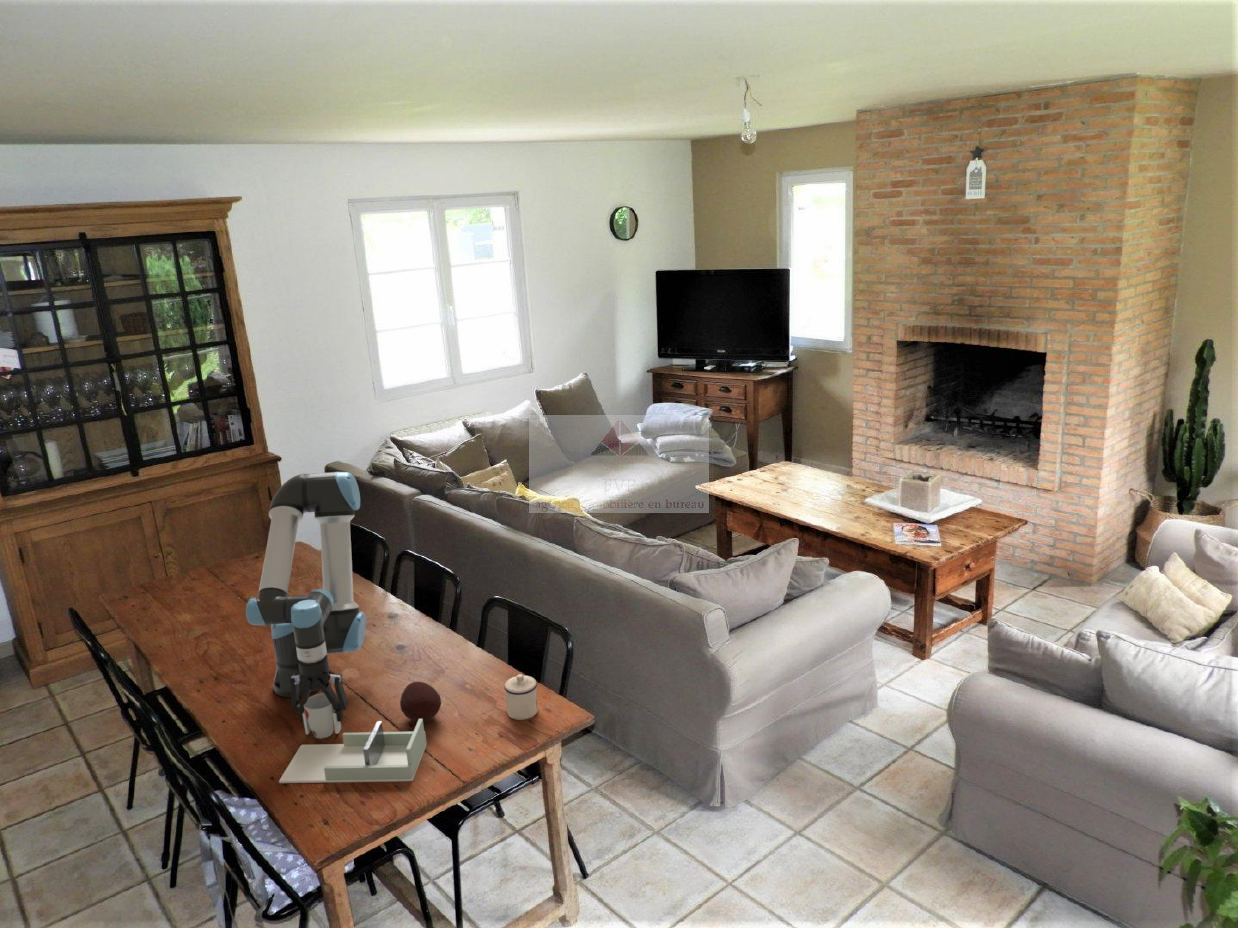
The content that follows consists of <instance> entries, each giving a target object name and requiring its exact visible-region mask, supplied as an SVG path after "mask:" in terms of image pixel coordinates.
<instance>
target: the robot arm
mask: <svg viewBox="0 0 1238 928" xmlns="http://www.w3.org/2000/svg"><path fill="white" fill-rule="evenodd" d="M357 482H358V481H357V479H356V477H355V475H353V474H352V473H351V472H349V471H348V472H347V471H332V472H320V473H319V472H318V473H301V474H298V475H294V476H293V477H291V478H289V479H287V480H286V481H285V482H284V483H283V484H282V486H280V487H279V489H278V490H277V491H276V493H275V494H274V495H273V498H272V500H271V502H270V505H269V509H268V517H269V519H270V526H269V530H268V537H267V544H266V548H265V554H264V560H263V565H262V571H261V575H260V582H259V588H258V594H257V597H252V598H249V599H248V600H247V603H246V605H245V616H246V617H245V618H246V620H247V622H248V623H249V624H250V625H251V626H269V625H270V630H271V635H270V636H271V639H272V645H273V650H274V651H273V652H274V657H275V662H276V668H275V669H276V670H275V675H274V678H273V690H274V692H275V694H276V695H278V696H280V697H283V698H289V699H290V701H291V702H290V707H291V708H290V709H291V711H292V712H298V715H299V720H300V723H303V725H304V733H305V735H309V734H310V732H312V731H311V729H310V726H309V723H308V721H307V718H306V713H305V708H304V704H306V702H307V700H308V698H309V697H310V695H312V694H313V693H316V692H317V691H319V690H320V691H321V692H322V694H325V695H326V697H327V698H328V700H329V702H330V703H331V704H332V707H333V708H334V712H333V719H334V731H335V734H336V735H337V734H339V733H340V731H341V730H342V723H341V722H342V720H343V719H344V714H343V711H345V710H346V709H347V707H348V705H349V701H348V698H347V694H346V691H345V688H344V684H343V683H342V679H343V674H341V673H337V674H333V673H331V671H330V665H329V658H328V654H346V653H353V652H354V653H355V652H357V651H359V650H360V649H361V648H362V646H363V643H364V639H365V634H366V629H367V619H366V614H365V612H363V611H360V606H359V604H357V603H356V602H355V600H354V585H353V584H354V583H353V582H354V581H353V560H352V559H353V558H352V557H353V556H352V540H351V537H352V536H351V535H352V534H351V521H352V520H353V519H354V518H355V515H356V511H358V510H359V509H360V507H361V494H360V489H359V488H360V487H359V484H358V483H357ZM306 513H314V519H315V521H317V522H318V523H319V524H320V525H319V527H320V528H319V529H320V546H321V547H320V550H321V551H320V552H321V571H322V588H315V589H313V590H311V591H310V592H309V593H308V594H301V595H299V594H297V595H288V591H289V584H290V577H291V571H292V565H293V559H294V553H295V545H296V542H297V541H296V540H297V534H298V527H299V523H301V522H302V521H303V520H304V519H303V518H304V514H306ZM330 680H331V682H332V684H334V689H333V687H332V684H331V682H330ZM334 690H335V691H334ZM300 697H301V700H300Z"/></svg>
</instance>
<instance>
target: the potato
mask: <svg viewBox="0 0 1238 928" xmlns="http://www.w3.org/2000/svg"><path fill="white" fill-rule="evenodd" d="M400 696H401V697H400V701H399V702H400V703H399V705H400V710H401V712H402V713H403V715H404V716H405V717H406V718H407V719H409V720H411V721H413V722H415V723H417V722H418V720H419V719H423V724H425V723H428V722H430V721H431V720H433V719H434V718H435V717H436V715H437V714H438V713H439V711H440V710H441V709H440V708H441V705H442V700H441V696H440V693H438V692H437V690H436V689H435V688H434V687H433V686H432V685H430V684H428V683H426V682H424V681H413V682H410V683H409V684H408V685H407V686H405V688H404V690H403V692H402V694H401V695H400Z"/></svg>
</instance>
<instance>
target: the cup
mask: <svg viewBox="0 0 1238 928" xmlns="http://www.w3.org/2000/svg"><path fill="white" fill-rule="evenodd" d="M304 708H305V713H306V718H307V721H308V723H309V726H310V729H311V731H310V732H312V735H313V736H314V738H316V739H325V738H328V737H330V736H331V735H333V733H334V731H335V726H334V719H333V712H334V708H333V707H332V704H331V703H330V702H329V700H328V698H327V697H326V695H325V694H324V693H317V694H315V695H311V696H309V697H308V700H307V702H306V704H304Z"/></svg>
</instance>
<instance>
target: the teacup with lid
mask: <svg viewBox="0 0 1238 928" xmlns="http://www.w3.org/2000/svg"><path fill="white" fill-rule="evenodd" d="M537 685H538V683H537V680H536V679H535V678H534V677H532V676H530V675H523V674H522V673H519V674H517V675H516V676H512V677H511V678H508V679H507V681H505V683H504V687H503V688H504V690H505V700H506V701H505V703H506V712H507V716H509V718H511V719H513V720H518V721H520V720H521V721H522V720H523V721H524V720H528V719H531V718H533V717H534V716H536V714H537V713H538V710H539V709H538V706H539V705H538V696H537V695H538V694H537V693H538V692H537V691H538V690H537Z"/></svg>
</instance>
